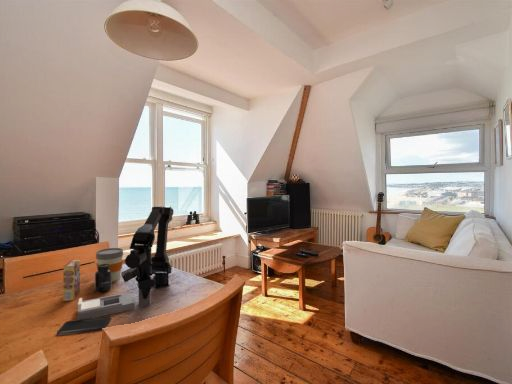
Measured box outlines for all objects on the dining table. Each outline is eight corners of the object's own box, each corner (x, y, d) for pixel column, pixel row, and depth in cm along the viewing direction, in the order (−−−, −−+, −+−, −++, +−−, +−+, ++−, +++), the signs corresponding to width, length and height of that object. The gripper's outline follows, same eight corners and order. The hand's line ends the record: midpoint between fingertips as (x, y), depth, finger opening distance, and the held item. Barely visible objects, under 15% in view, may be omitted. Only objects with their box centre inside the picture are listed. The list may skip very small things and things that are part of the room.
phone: (105, 327, 89) (55, 333, 85) (105, 330, 89) (55, 336, 85) (112, 316, 97) (66, 320, 93) (112, 319, 97) (66, 323, 93)
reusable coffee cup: (91, 280, 132) (90, 251, 132) (115, 273, 143) (115, 246, 142) (104, 285, 126) (103, 255, 125) (128, 277, 136) (128, 250, 136)
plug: (148, 300, 111) (148, 280, 110) (150, 304, 107) (150, 283, 107) (138, 303, 109) (138, 282, 108) (139, 307, 105) (139, 285, 105)
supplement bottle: (103, 293, 117) (103, 268, 116) (91, 292, 118) (90, 266, 118) (115, 287, 124) (114, 263, 123) (102, 286, 125) (102, 262, 124)
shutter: (100, 300, 105) (99, 294, 105) (99, 307, 99) (99, 300, 99) (79, 304, 102) (79, 297, 102) (77, 311, 96) (77, 305, 96)
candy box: (74, 300, 110) (74, 265, 110) (62, 301, 109) (62, 266, 108) (80, 291, 119) (80, 259, 118) (69, 293, 117) (69, 260, 117)
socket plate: (132, 297, 113) (132, 291, 113) (134, 308, 104) (134, 301, 104) (80, 308, 103) (80, 300, 103) (77, 321, 94) (77, 313, 94)
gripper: (121, 257, 111) (121, 292, 112) (124, 270, 95) (124, 311, 96) (148, 253, 117) (148, 287, 117) (155, 265, 101) (155, 304, 101)
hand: (144, 296), depth 108 cm, fingers closed on plug, 4 cm apart
